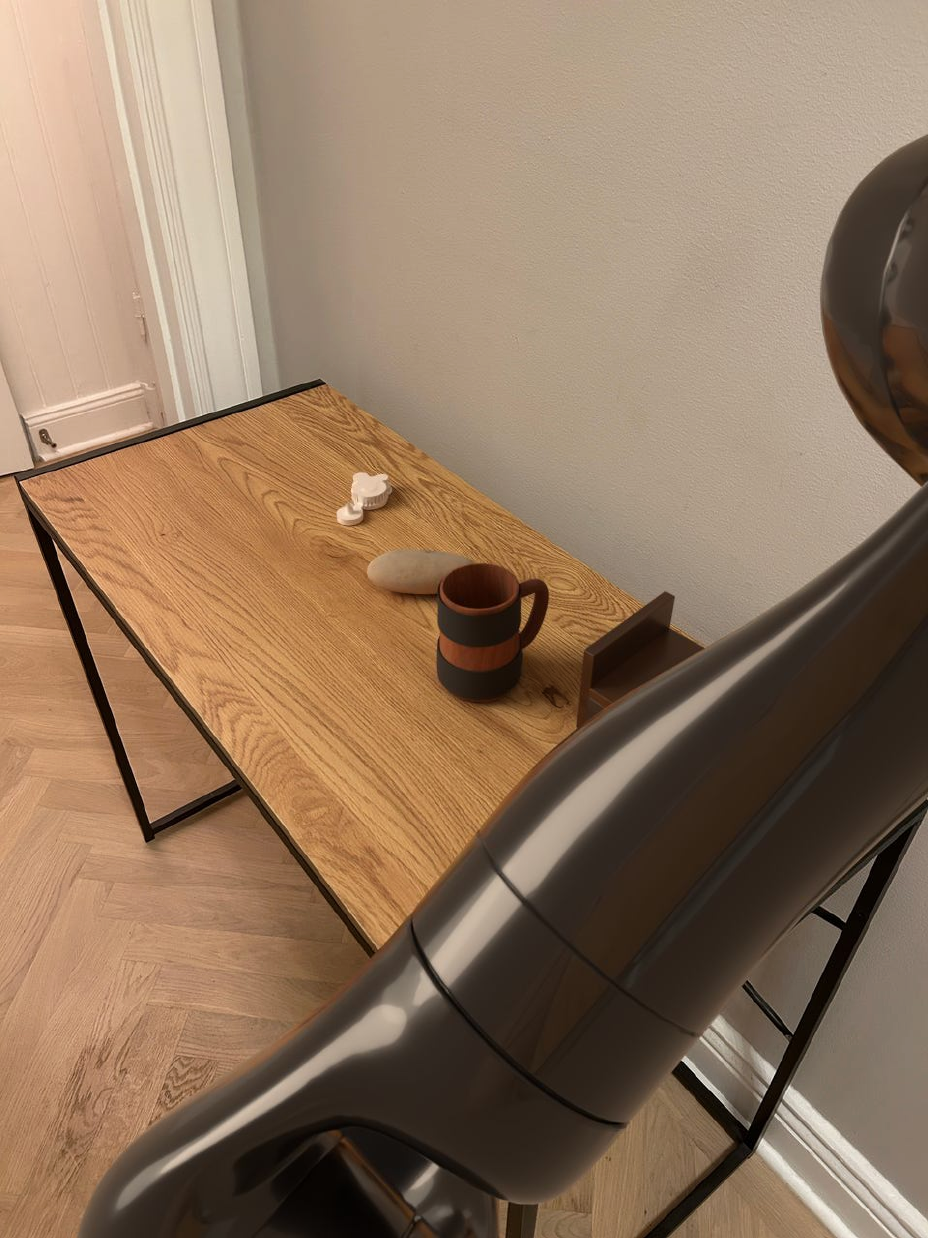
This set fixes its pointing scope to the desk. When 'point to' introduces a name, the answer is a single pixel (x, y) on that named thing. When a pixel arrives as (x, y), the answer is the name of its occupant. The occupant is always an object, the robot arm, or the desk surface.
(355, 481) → the white rounded lumpy shapes
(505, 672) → the mug
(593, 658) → the shelf
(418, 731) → the desk surface
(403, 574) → the stone
